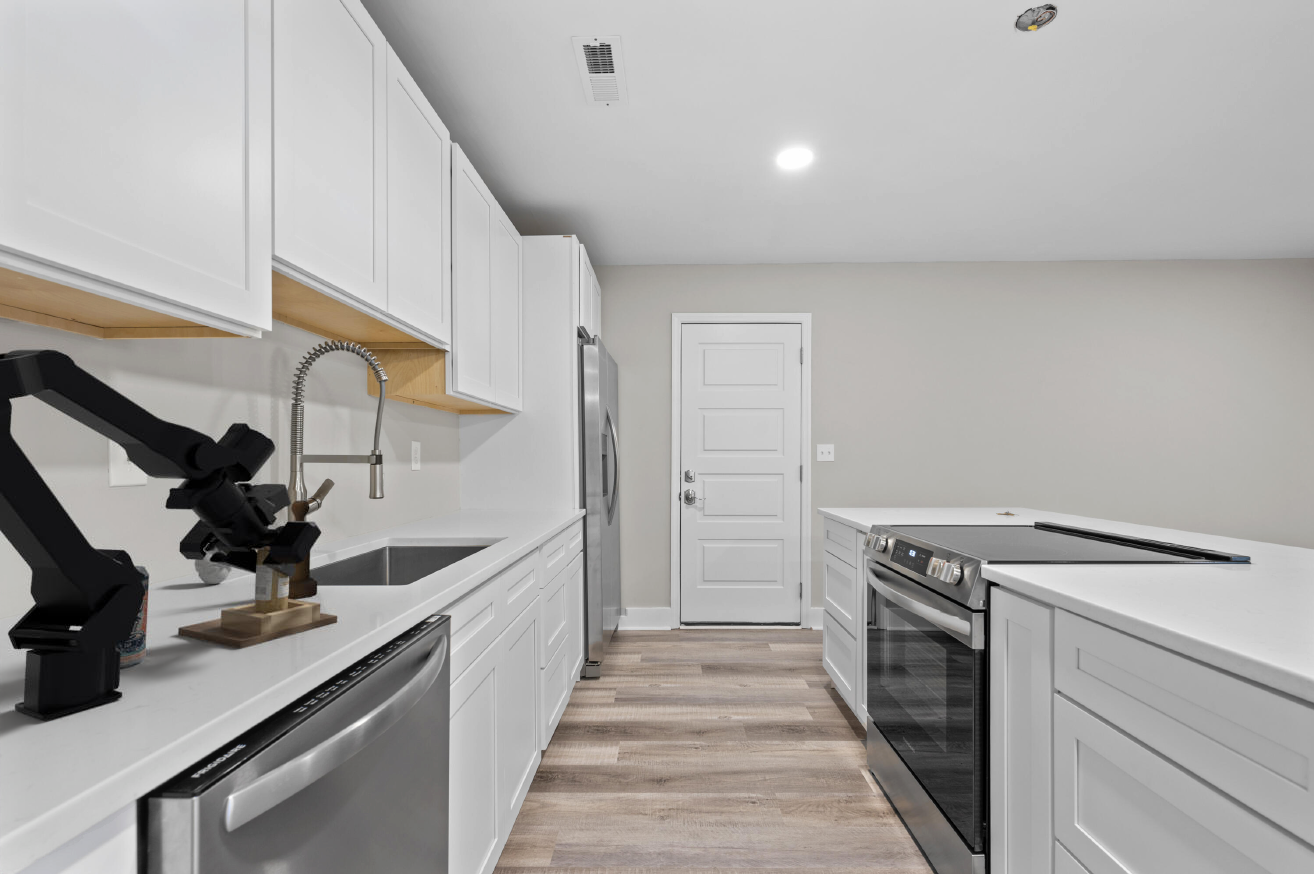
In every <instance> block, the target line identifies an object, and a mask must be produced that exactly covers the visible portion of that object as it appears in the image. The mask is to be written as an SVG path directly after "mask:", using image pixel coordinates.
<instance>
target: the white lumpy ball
mask: <svg viewBox="0 0 1314 874" xmlns="http://www.w3.org/2000/svg"><path fill="white" fill-rule="evenodd" d="M204 551H205V550H204ZM205 552H206V551H205ZM206 553H207V555H206V556H205V558H204V559H203V560H194V568H195V571H196V572H197V573H198V577H199V578H200V580H201V581H202V582H203V583H205V584H207V585H218V584H220V583H223V582H224V581H225V580H227V578H228V577H229V575H230V572H232V569H233V567H230V566H226V565H222V564H219V563H213V562H211V561H210V558H211V556H212V554H211V553H210V552H206Z"/></svg>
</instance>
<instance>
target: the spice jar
mask: <svg viewBox="0 0 1314 874" xmlns="http://www.w3.org/2000/svg"><path fill="white" fill-rule="evenodd" d="M268 550H270V549H268V548H267V547H265V549H263V550H256V552H257V564H256V574H255V583H254V585H255V587H254V600H255V601H254V603H255V613H261V614H268V613H273V612H277V611H281V610H286V609H288V595H289V577H288V576H286V575H283V574H281V573H279V572H277V571H275V570H273V569H271V568H269V567H267V566H265V565H263V564H262V562H263V561H264V559H265V558H266V557H267V555H268V554H269V553H268Z"/></svg>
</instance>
